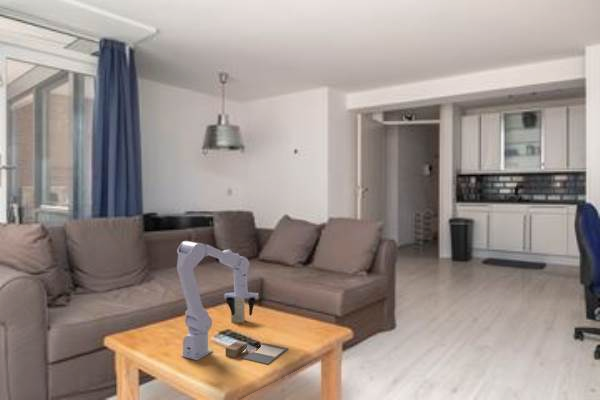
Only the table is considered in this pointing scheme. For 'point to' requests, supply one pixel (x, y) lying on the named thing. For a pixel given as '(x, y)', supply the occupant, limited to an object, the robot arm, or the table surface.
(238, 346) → the banded brown carton
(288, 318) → the table surface
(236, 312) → the skincare box
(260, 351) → the mat
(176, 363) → the table surface
